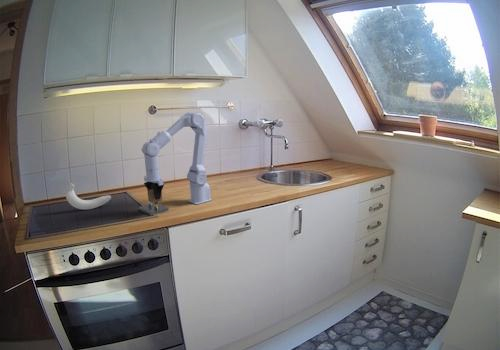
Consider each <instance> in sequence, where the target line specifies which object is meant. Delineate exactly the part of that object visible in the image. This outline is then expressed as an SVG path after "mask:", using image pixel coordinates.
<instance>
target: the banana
mask: <svg viewBox="0 0 500 350" xmlns="http://www.w3.org/2000/svg"><path fill="white" fill-rule="evenodd" d="M69 186H70V188H69V190H68V191H67V192H66V194H65V198H66V200H67V202H68V203H69V205H70V206H71V207H74V208H76V209H78V210H87V211H88V210H93V209H96V208H99V207H100V206H102V205H105V204H106V203H108V202H109V201H110V200H111V199H112V196H111V195H103V196H99V197H97V198H94V199H86V200H85V199H81V198H80V197H79V196H78V195H77V194H76V192H75V190H74V189H75V186H76V185H74V184H73V183H72V182H70V185H69Z"/></svg>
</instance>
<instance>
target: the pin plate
mask: <svg viewBox="0 0 500 350" xmlns="http://www.w3.org/2000/svg"><path fill="white" fill-rule="evenodd" d="M138 210H139V211H141V212H142V213H145V214H147V215H149V216H154V215H153V214H155V215H158V214H161V212H162V213H164V212H168V211H169V210H170V208H168V207H167V206H164V205H163V204H159V202H156V203H152V202H150V201H148V200H147V204H146V205H142V206H138ZM157 213H158V214H157Z"/></svg>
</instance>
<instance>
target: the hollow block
mask: <svg viewBox="0 0 500 350" xmlns="http://www.w3.org/2000/svg"><path fill="white" fill-rule="evenodd" d="M162 193H163V191H162V192H161V198H160V199H157V200H156V199H155V196H154V191H153V189H152V190H147V202H148V201H150V202H152V204H153V203H156V202H158V203H159V202H163V194H162Z"/></svg>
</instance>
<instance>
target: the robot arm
mask: <svg viewBox="0 0 500 350" xmlns="http://www.w3.org/2000/svg"><path fill="white" fill-rule="evenodd" d="M205 121H206V118H205V117H204V116H203V115H202V113H200V112H186V113H184V114H183V115H181V116H180V118H178V120H176V121H175V122H174V123H173V124H172V125H171V126H170V127H169V128H168V129H167V130H166V131H164V130H161V131H158V132H157V134H156V135H155V136H154V137H153V138H150V139H149V141H148V142H145V143H143V145H142V148H141V153H143V155H144V164H145V165H144V166H145V176H143V179H144V183H143V185H144V186H145V188H146V190H147V191H148V190H152V189H153V191H154V196H155V199H156V200H157V199H160V198H161V192H162V193H163V188H164V186H165V184H164V179H163V180H162V178H161V175H160V168H159V167H160V166H159V158H158V157H159V153H160V151H161V150H162V149H163V148H164V147H165V146H166V145H167V144H168V143H170V142H171V139H172V138H171V137H173V136H175V135H176V134H177V133H179V131H181V130H182V129H183V128H188V127H189V128H190V129H192V130H193V132H194V133H195V135H194V146H193V155H192V164H191V165H190V167H189V170H188V172H187V174H186V178H187V181H188V182H189V191H190V199H188V200H187V202H189V203H191V204H193V205H200V204H203V203H206V202H209V201H212V198H211V197H212V196H211V188H210V185H209V183H208V182H207V178H208V176H207V174H206V173H207V169H206V168H205V167H204V164H205V163H204V162H205V155H206V153H205V152H206V145H207V143H206V142H207V135H208V129H207V124H206V122H205Z"/></svg>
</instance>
